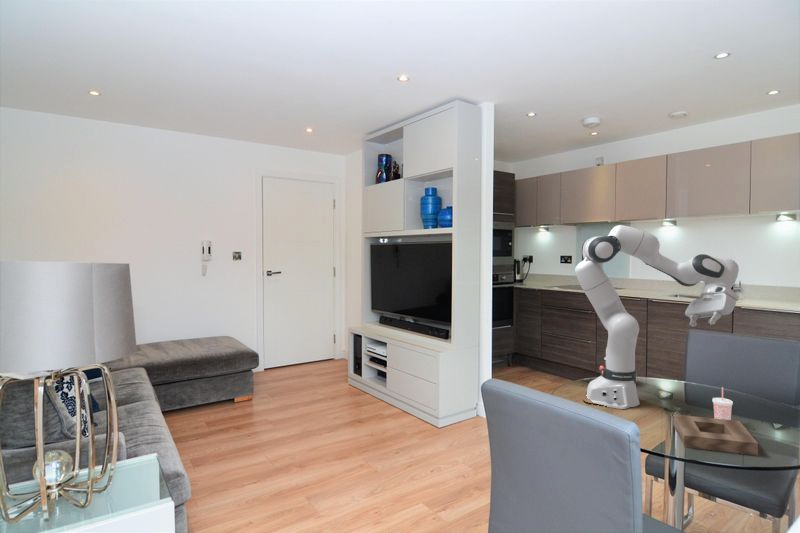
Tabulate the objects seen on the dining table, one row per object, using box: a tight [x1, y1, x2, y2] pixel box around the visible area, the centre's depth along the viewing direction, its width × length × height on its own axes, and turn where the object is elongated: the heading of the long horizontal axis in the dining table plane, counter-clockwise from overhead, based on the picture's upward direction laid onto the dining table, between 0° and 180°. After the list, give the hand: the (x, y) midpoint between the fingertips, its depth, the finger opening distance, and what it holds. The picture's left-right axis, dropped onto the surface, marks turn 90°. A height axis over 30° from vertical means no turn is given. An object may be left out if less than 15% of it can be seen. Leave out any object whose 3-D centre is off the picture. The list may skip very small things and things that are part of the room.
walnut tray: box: [672, 414, 759, 457], centre depth 151 cm, size 20×18×4 cm
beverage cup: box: [712, 386, 734, 420], centre depth 162 cm, size 6×6×14 cm
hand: (701, 324), depth 171 cm, fingers open, 8 cm apart
